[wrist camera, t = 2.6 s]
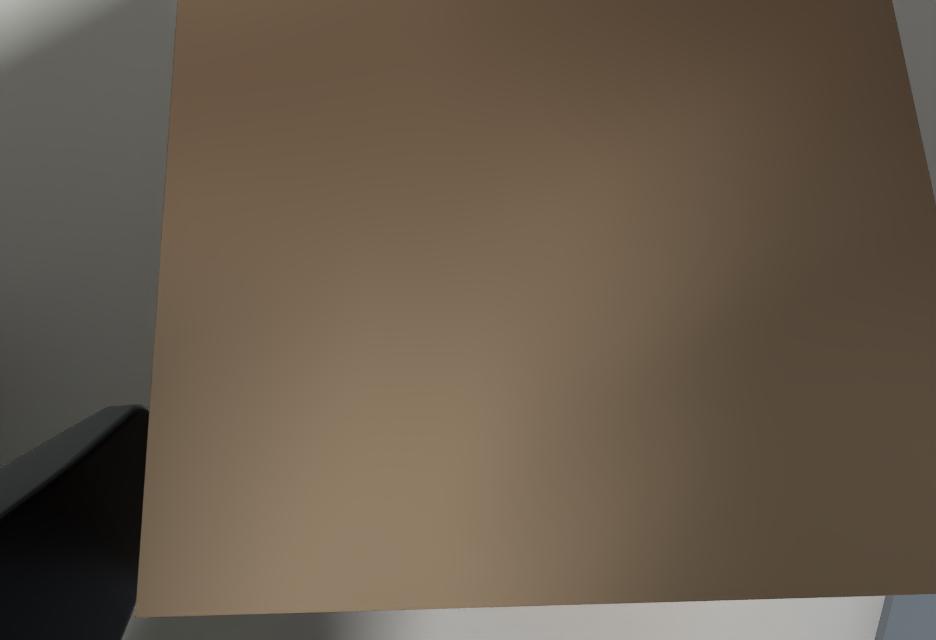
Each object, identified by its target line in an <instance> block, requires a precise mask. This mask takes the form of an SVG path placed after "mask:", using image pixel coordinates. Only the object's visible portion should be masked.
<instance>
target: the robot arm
mask: <svg viewBox="0 0 936 640" xmlns="http://www.w3.org/2000/svg"><path fill="white" fill-rule="evenodd" d="M148 424H149V410H148V408H146V407H145V406H142V405H139V404H137V405H122V406H111V407H107V408H104V409H102V410H101V411H99V412H97V413H95V414H94V415H92V416H90V417H89V418H87V419H85V420H83V421H82V422H80V423H78V424H76V425H75V426H73V427H71V428H69V429H68V430H66V431H64V432H62V433H61V434H59V435H57V436H55V437H54V438H52V439H50V440H49V441H47V442H45V443H43V444H42V445H40V446H38V447H36V448H35V449H33V450H31V451H29V452H28V453H26V454H24V455H22V456H21V457H19V458H17V459H15V460H14V461H12V462H10V463H9V464H7V465H5V466H3V467H2V468H0V640H121V639H122V637H123V634H124V632H125V630H126V627H127V625H128V622H129V620H130V617H131V614H132V612H133V609H134V607H135V604H136V598H137V584H138V569H139V555H140V540H141V526H142V511H143V497H144V482H145V468H146V453H147V439H148Z"/></svg>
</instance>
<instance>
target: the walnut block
mask: <svg viewBox="0 0 936 640" xmlns="http://www.w3.org/2000/svg"><path fill="white" fill-rule="evenodd" d="M916 594H936V204H935V199H934V195H933V190H932V185H931V181H930V176H929V171H928V167H927V162H926V157H925V153H924V148H923V143H922V139H921V134H920V130H919V125H918V120H917V116H916V111H915V106H914V102H913V97H912V92H911V88H910V83H909V78H908V74H907V69H906V64H905V60H904V55H903V50H902V46H901V41H900V36H899V32H898V27H897V22H896V18H895V13H894V8H893V4H892V0H178V4H177V19H176V33H175V48H174V62H173V77H172V91H171V106H170V120H169V135H168V149H167V164H166V178H165V193H164V207H163V222H162V236H161V251H160V265H159V280H158V294H157V308H156V323H155V337H154V352H153V366H152V381H151V395H150V410H149V424H148V439H147V453H146V468H145V482H144V497H143V511H142V526H141V540H140V555H139V569H138V584H137V598H136V613H135V618H142V617H176V616H210V615H243V614H277V613H310V612H344V611H378V610H411V609H445V608H479V607H512V606H546V605H580V604H613V603H647V602H681V601H714V600H748V599H782V598H815V597H849V596H882V595H916Z"/></svg>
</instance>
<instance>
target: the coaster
mask: <svg viewBox="0 0 936 640" xmlns="http://www.w3.org/2000/svg"><path fill="white" fill-rule="evenodd" d="M875 640H936V594H916V595H886V598H885V602H884V606H883V610H882V614H881V618H880V622H879V626H878V630H877V634H876V638H875Z"/></svg>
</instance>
